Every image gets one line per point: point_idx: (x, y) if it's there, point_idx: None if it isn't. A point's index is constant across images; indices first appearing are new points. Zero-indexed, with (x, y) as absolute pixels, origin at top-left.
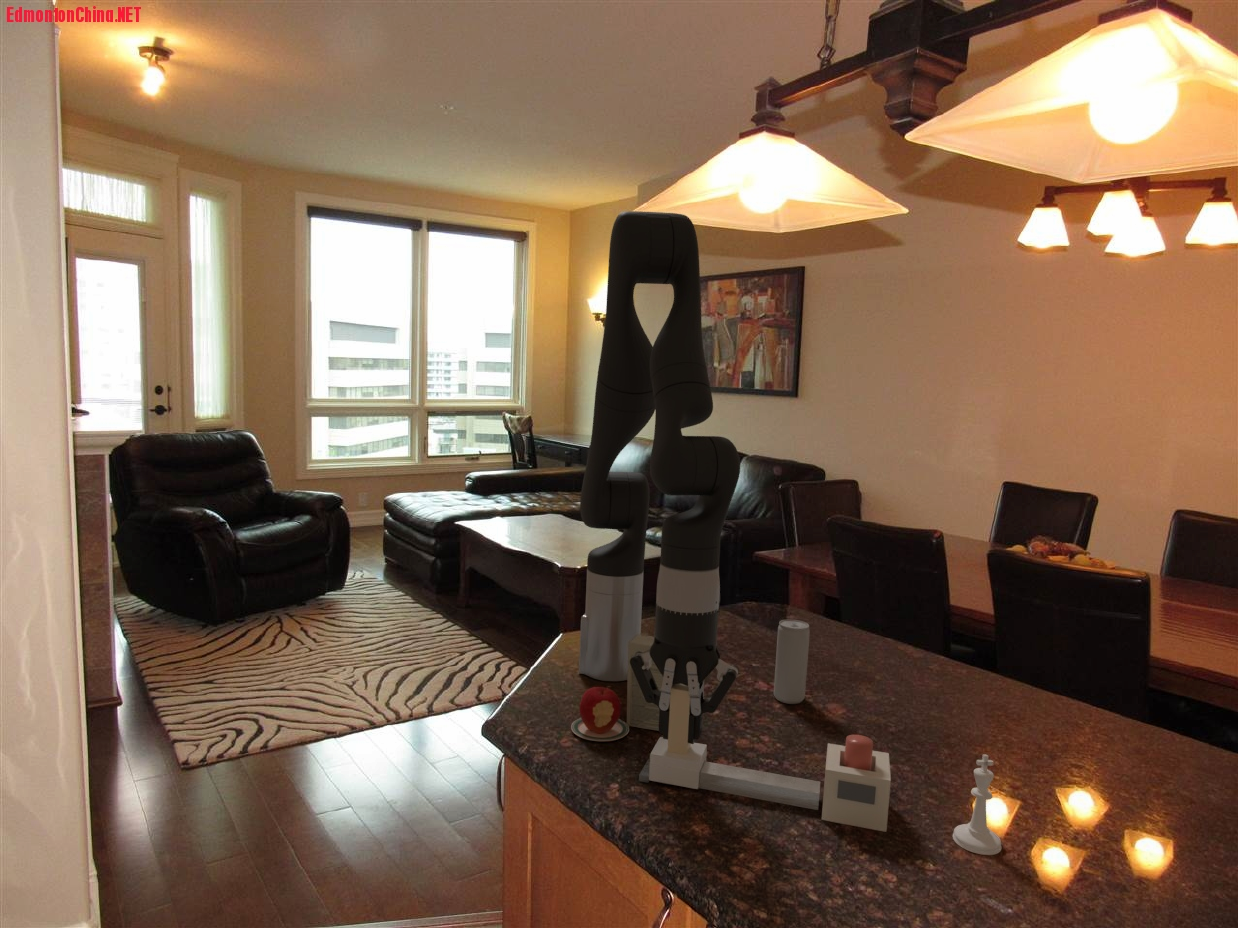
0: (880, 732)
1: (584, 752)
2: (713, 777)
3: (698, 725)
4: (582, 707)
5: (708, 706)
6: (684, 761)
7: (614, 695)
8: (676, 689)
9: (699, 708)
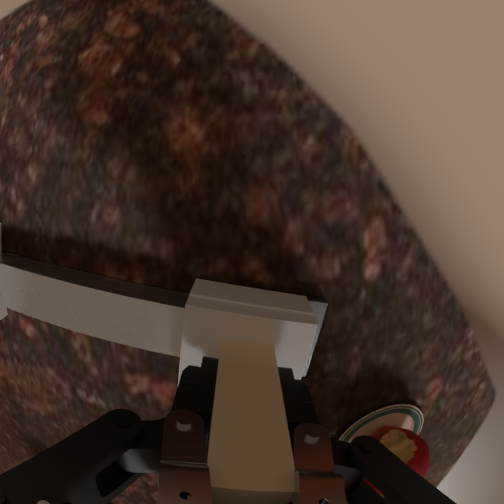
0: (8, 444)
1: (413, 370)
2: (159, 300)
3: (182, 391)
4: (427, 447)
5: (129, 428)
6: (226, 309)
7: None
8: (271, 491)
9: (168, 427)
